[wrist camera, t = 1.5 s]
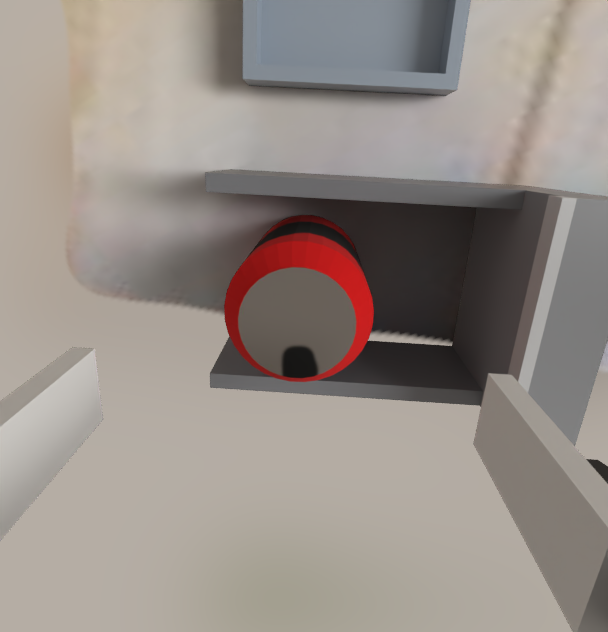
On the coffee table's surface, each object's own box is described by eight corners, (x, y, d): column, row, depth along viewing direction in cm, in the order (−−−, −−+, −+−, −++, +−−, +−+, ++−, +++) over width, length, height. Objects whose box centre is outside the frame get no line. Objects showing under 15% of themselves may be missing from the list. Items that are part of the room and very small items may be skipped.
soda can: (260, 318, 34) (229, 398, 23) (249, 218, 31) (207, 252, 20) (360, 312, 33) (378, 391, 22) (356, 210, 31) (374, 240, 20)
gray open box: (231, 169, 30) (175, 176, 19) (526, 185, 30) (649, 202, 18) (231, 343, 35) (187, 433, 23) (488, 360, 34) (570, 460, 23)
